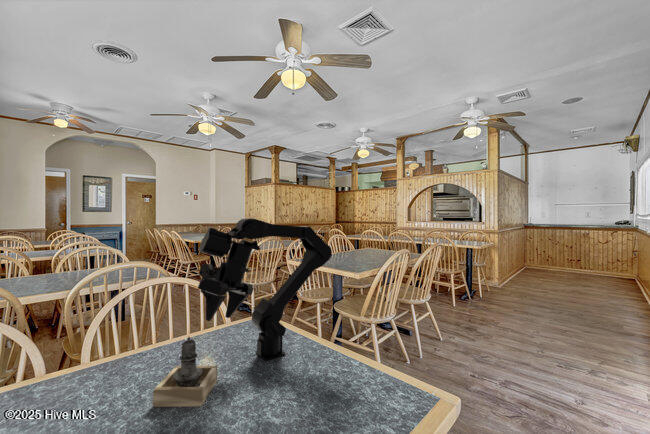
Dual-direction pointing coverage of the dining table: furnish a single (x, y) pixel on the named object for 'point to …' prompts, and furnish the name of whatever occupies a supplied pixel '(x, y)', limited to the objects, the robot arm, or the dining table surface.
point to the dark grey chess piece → (188, 366)
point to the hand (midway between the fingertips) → (218, 319)
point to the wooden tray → (184, 389)
